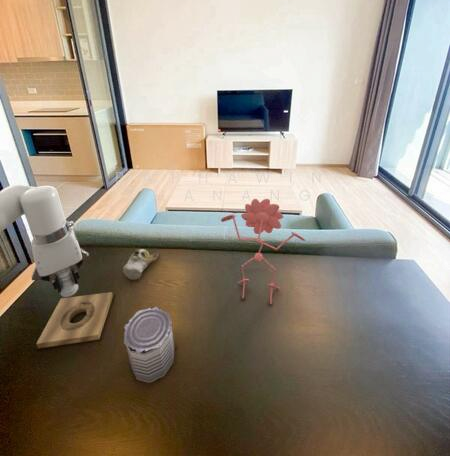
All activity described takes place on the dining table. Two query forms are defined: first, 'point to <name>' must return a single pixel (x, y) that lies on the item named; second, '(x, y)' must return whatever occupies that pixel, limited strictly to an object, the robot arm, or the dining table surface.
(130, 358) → the can
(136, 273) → the ceramic sculpture
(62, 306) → the wooden board with hole
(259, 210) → the figurine
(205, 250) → the dining table surface
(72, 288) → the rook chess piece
